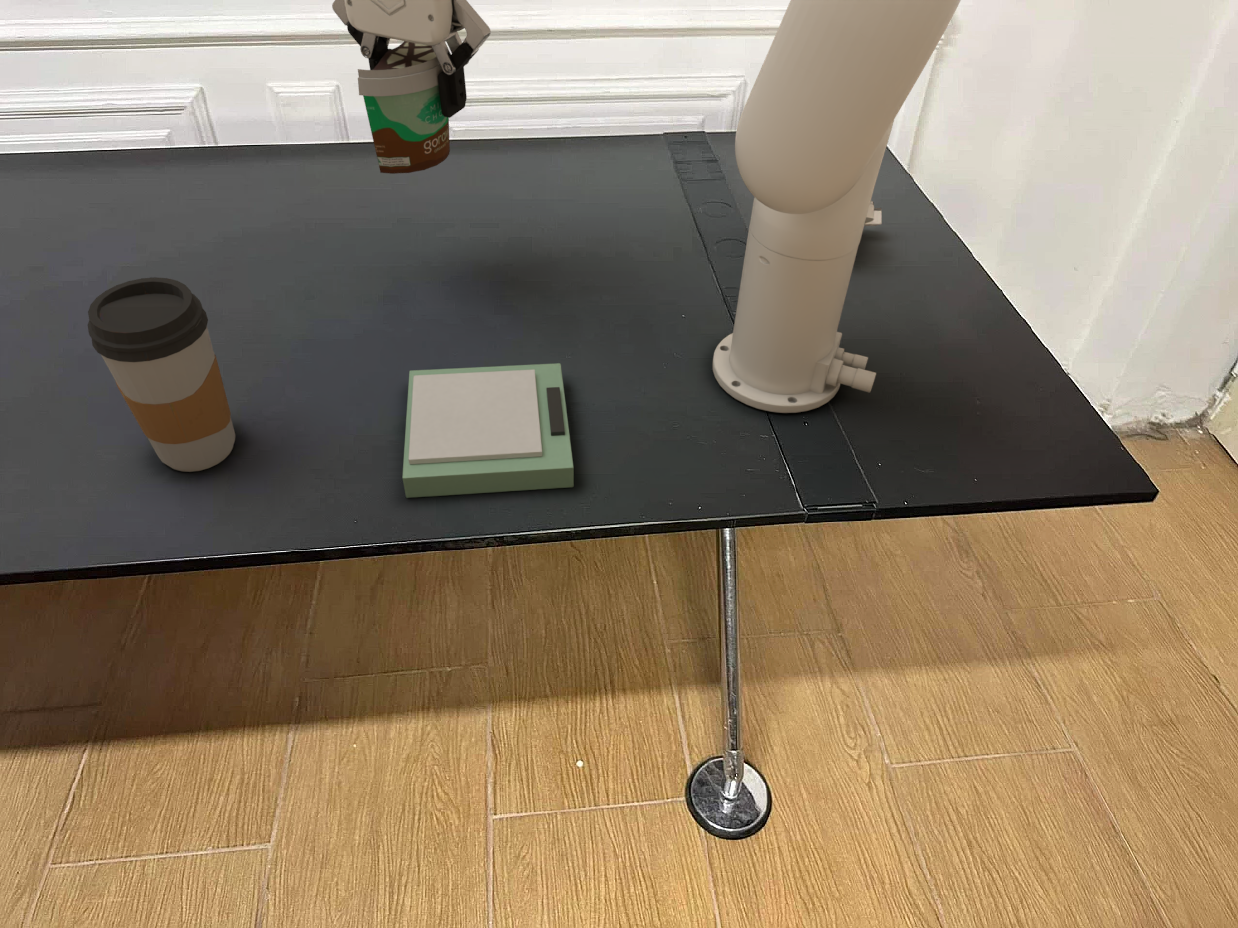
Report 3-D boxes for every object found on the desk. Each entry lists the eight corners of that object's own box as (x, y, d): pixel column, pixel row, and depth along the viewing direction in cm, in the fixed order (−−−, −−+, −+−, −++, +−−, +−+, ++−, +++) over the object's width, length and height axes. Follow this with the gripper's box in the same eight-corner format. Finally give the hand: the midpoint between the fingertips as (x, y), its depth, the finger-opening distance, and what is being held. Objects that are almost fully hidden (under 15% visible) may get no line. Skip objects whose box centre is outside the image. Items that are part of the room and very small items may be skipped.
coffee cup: (163, 417, 81) (101, 274, 70) (258, 415, 82) (211, 273, 71) (134, 483, 75) (62, 338, 65) (236, 481, 76) (182, 336, 65)
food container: (435, 188, 84) (422, 79, 77) (374, 179, 85) (354, 71, 78) (479, 133, 93) (470, 30, 86) (422, 126, 94) (409, 24, 87)
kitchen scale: (560, 382, 86) (560, 357, 84) (573, 487, 77) (573, 462, 75) (412, 390, 85) (408, 365, 83) (406, 498, 75) (401, 472, 73)
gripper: (274, -118, 73) (321, 102, 85) (460, -91, 68) (480, 138, 81) (332, -136, 78) (368, 75, 90) (508, -112, 73) (520, 107, 85)
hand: (420, 103), depth 85 cm, fingers closed on food container, 6 cm apart
